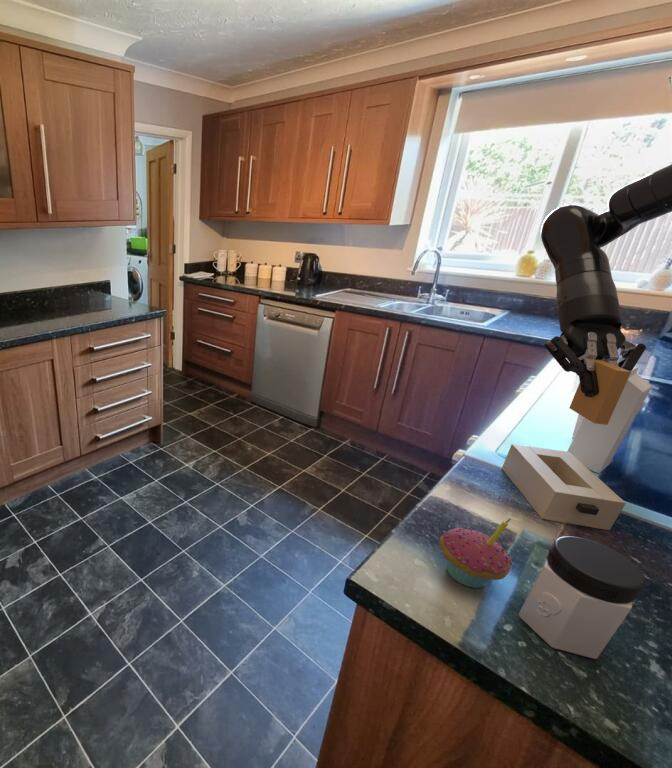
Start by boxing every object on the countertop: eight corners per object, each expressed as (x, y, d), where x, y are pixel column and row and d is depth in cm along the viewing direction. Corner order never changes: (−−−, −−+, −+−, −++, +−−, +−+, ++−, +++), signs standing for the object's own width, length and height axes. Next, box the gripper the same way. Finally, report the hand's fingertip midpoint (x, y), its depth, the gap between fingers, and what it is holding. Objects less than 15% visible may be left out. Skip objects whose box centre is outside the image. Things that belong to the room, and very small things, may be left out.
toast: (581, 409, 73) (602, 360, 70) (607, 425, 67) (631, 371, 64) (569, 408, 74) (589, 358, 71) (594, 423, 68) (617, 370, 65)
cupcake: (498, 569, 64) (528, 507, 60) (501, 610, 58) (534, 545, 53) (433, 545, 69) (456, 485, 64) (429, 580, 62) (454, 517, 57)
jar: (501, 602, 59) (534, 537, 54) (548, 593, 61) (584, 529, 56) (568, 666, 51) (614, 597, 46) (621, 654, 53) (670, 585, 48)
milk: (562, 459, 93) (607, 366, 84) (573, 451, 96) (618, 360, 86) (599, 474, 88) (651, 376, 79) (609, 465, 91) (660, 370, 82)
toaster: (501, 468, 89) (511, 443, 87) (557, 476, 87) (569, 451, 84) (545, 523, 74) (559, 496, 72) (614, 535, 72) (631, 507, 69)
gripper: (555, 289, 72) (567, 382, 66) (654, 295, 69) (676, 394, 63) (527, 312, 79) (536, 398, 73) (616, 318, 76) (633, 409, 70)
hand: (601, 396), depth 68 cm, fingers closed on toast, 1 cm apart
